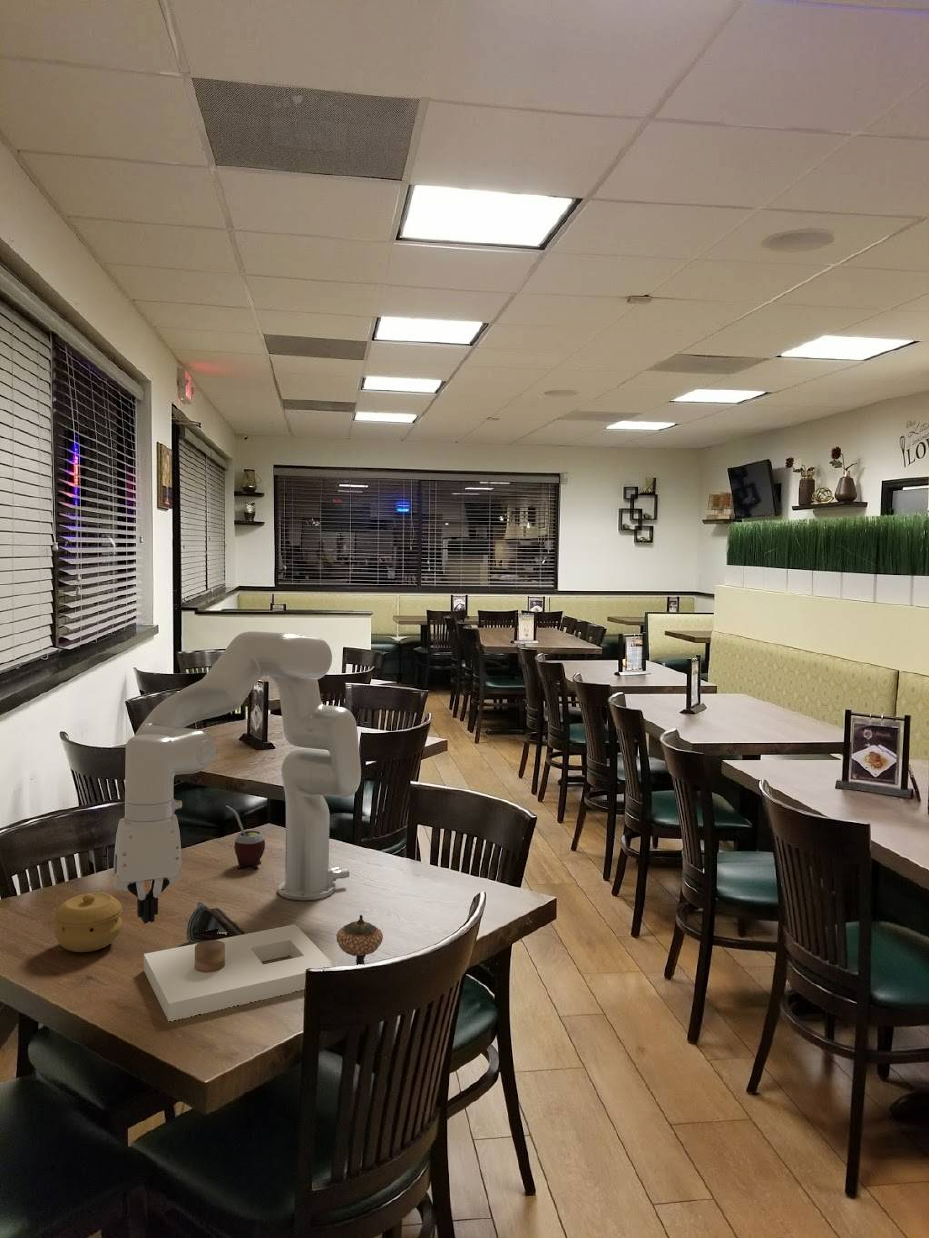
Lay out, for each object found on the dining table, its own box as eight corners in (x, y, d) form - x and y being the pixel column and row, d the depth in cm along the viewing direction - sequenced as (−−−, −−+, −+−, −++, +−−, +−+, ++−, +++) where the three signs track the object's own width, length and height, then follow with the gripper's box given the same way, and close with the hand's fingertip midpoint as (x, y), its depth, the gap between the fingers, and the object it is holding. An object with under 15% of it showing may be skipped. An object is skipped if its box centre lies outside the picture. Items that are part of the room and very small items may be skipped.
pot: (73, 932, 172) (72, 881, 171) (132, 934, 171) (132, 883, 171) (42, 958, 160) (41, 905, 159) (106, 961, 160) (106, 907, 159)
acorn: (327, 973, 157) (328, 918, 156) (351, 954, 164) (352, 902, 164) (367, 983, 154) (368, 927, 153) (390, 963, 161) (391, 910, 161)
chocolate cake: (262, 938, 172) (231, 887, 176) (245, 942, 165) (213, 889, 169) (225, 969, 172) (195, 917, 176) (207, 974, 166) (176, 920, 170)
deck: (295, 939, 171) (295, 924, 170) (334, 982, 153) (334, 965, 153) (143, 970, 156) (143, 953, 156) (168, 1022, 139) (168, 1003, 139)
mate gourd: (270, 866, 211) (271, 804, 210) (242, 874, 205) (243, 811, 204) (252, 859, 216) (252, 798, 215) (224, 866, 210) (224, 804, 209)
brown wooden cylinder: (220, 957, 156) (220, 937, 155) (228, 968, 151) (228, 948, 151) (191, 963, 153) (191, 943, 153) (198, 975, 149) (198, 954, 148)
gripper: (189, 800, 152) (188, 905, 153) (97, 809, 145) (95, 919, 145) (200, 811, 146) (198, 920, 147) (104, 821, 138) (102, 936, 139)
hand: (147, 919), depth 146 cm, fingers closed
